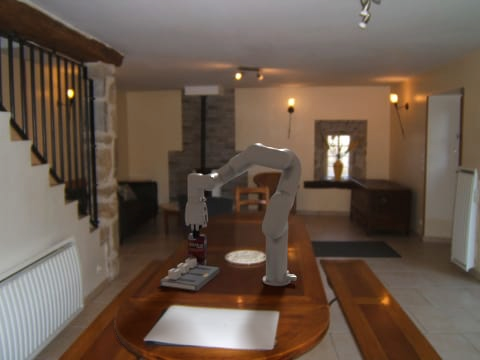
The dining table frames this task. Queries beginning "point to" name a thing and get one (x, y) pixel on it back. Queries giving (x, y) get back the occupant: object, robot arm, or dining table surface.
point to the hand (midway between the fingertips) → (196, 238)
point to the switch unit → (192, 278)
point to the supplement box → (198, 249)
